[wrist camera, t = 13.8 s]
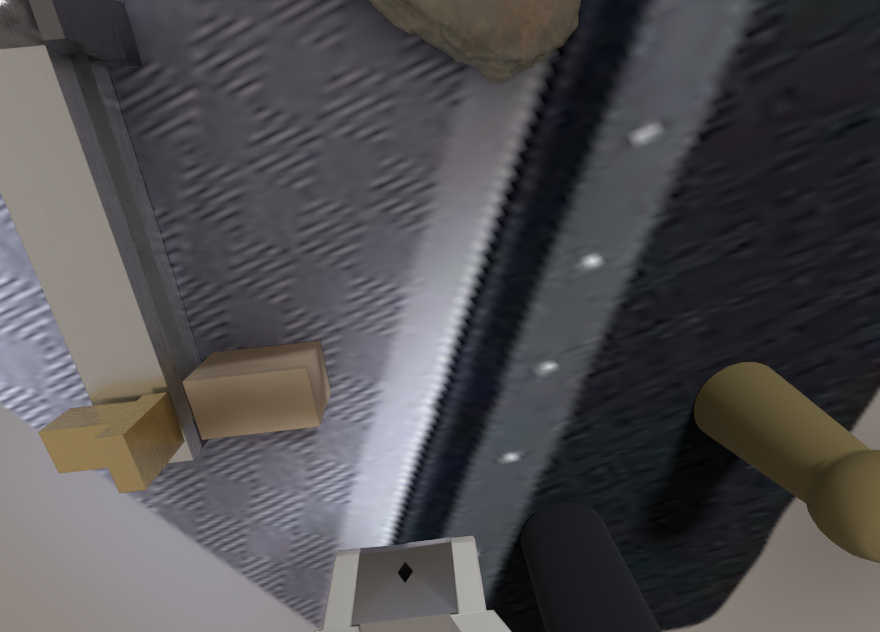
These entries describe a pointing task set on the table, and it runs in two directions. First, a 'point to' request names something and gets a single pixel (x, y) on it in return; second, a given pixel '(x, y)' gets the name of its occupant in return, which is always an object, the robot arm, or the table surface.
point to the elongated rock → (487, 30)
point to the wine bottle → (581, 573)
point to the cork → (797, 451)
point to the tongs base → (120, 146)
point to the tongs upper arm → (78, 227)
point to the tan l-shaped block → (116, 440)
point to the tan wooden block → (259, 390)
